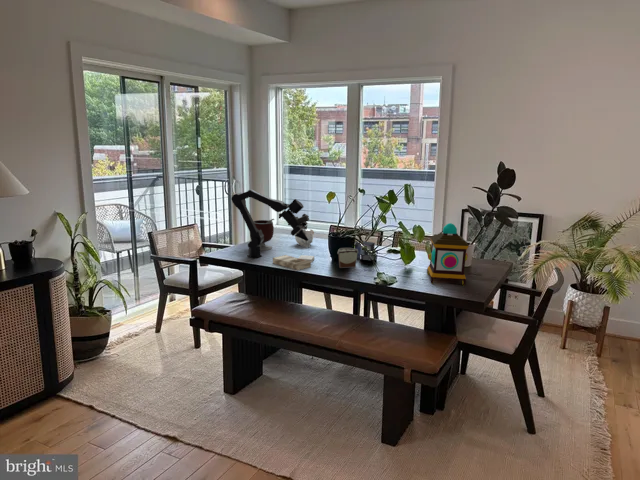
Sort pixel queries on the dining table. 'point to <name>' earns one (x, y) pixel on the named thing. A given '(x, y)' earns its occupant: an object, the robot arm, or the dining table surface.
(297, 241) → the lidded bowl
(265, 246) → the mate gourd
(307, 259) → the block
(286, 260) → the plate
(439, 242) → the decorative lantern
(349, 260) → the food container
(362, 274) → the dining table surface
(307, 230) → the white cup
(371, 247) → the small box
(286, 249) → the dining table surface
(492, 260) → the dining table surface
